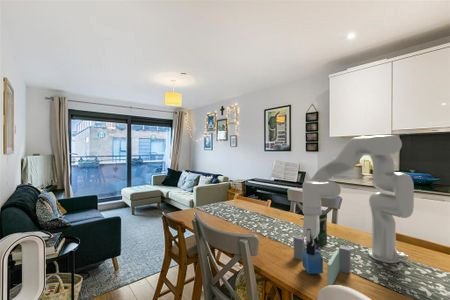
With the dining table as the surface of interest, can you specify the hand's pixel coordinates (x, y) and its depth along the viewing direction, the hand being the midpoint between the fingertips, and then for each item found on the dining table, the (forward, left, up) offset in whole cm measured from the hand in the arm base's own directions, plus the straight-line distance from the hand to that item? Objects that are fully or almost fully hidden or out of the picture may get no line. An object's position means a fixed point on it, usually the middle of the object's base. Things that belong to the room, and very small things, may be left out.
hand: (312, 251), depth 95 cm
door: (-8, +1, -9) cm, 12 cm away
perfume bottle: (0, 0, -8) cm, 8 cm away
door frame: (-1, -9, -9) cm, 13 cm away
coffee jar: (+5, -33, -10) cm, 35 cm away
